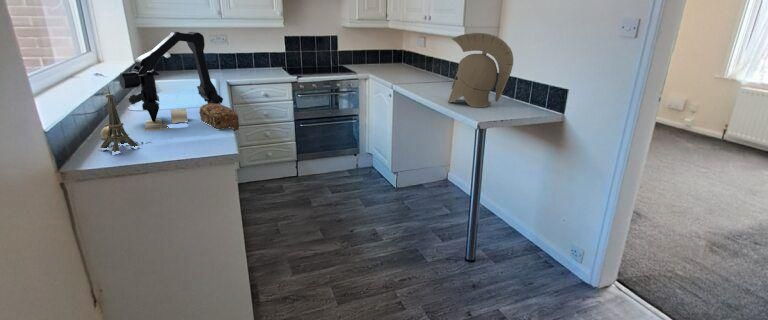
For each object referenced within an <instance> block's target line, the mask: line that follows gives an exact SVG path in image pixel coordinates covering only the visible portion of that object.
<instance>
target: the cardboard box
mask: <svg viewBox="0 0 768 320" xmlns="http://www.w3.org/2000/svg"><path fill="white" fill-rule="evenodd" d="M167 124H168V123H164V124H163V123H162V124H161V125H149V126H145V127H144V132H154V131H155V132H156V131H167V130H174V128H169V127H168V126H167ZM167 127H168V128H167Z"/></svg>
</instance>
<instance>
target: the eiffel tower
mask: <svg viewBox="0 0 768 320" xmlns="http://www.w3.org/2000/svg"><path fill="white" fill-rule="evenodd" d="M107 85H108V82H107ZM107 89H108V90H107V91H108V93H107V94H105V98H106V99H107V105H108V106H107V107H108V123H106V124H107V126H109V131H108V135H106V136H107V138H106V139H104V141H103V143H102V144H101V145H100V148H107V147H108V148H109V147H110V146H111V143H113V146H112V149H111V152H112V151H114V152H116V151H120V152H121V150H120V145H118V144H120V143H121V144H124V143H128V144H129V145H128V146H130V147H131V146H134V147H135V146H139V144H138V143H137V142H136V141H135V140H133V139H132V138H131V137H130V136H129V134H128V133H127V132H126V130H125V128H124V125H125V124H124V122H121V119H120V117H119V116H120V115H119V113H118V109H117V107H116V104H115V100H114V97H115V95H114V93H111V91H110V87H109V86H107ZM116 129H117V131H116ZM112 130H113V134H112ZM120 130H121V131H120ZM121 132H122V133H121ZM100 148H99V149H100Z"/></svg>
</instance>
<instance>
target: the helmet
mask: <svg viewBox="0 0 768 320" xmlns="http://www.w3.org/2000/svg"><path fill="white" fill-rule="evenodd" d="M451 40H452V41H453V42H455V43H457V45H458V46H459V47H460V49H461V51H462V52H463V53H465V52H472V51H473V52H481V53H470V54H468V55H467V56H466V55H465V57H463V58H461V59H460V61H459V64H458V69H457V72H456V74H455V76H454V80H453V83H452V85H451V92H450V95H449V98H448V99H447V102H448V103H454V102H455V101H457V100H459V99H460V98H462V97H463V99H464V101H465V102H466V104H467V105H469V106H471V107H474V108H486V107H490V106H491V105H492V102H490V101H489V98H490V97H489V96H490V93H491V91H492V90H494V88H495V97H494V101H495V102H496V103H498V101H499V100H500V98H501V97H502V94H503V93H504V90H505V87H506V86H507V83H508V81H509V78H510V76H511V73H512V70H513V66H514V55H513V52H512V49H511V47H510V46H509V45H508V44H507V42H505V41H504V40H503V39H501V38H500V37H498V36H496V35H494V34H490V33H486V32H471V33H464V34H461V35H457V36H454V37H452V38H451ZM489 55H490V56H492V57H493V58H494V59H495V60H494V59H493V58H492V57H490V56H489ZM495 61H496V62H495ZM496 64H497V65H496Z"/></svg>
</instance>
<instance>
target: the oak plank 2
mask: <svg viewBox="0 0 768 320" xmlns="http://www.w3.org/2000/svg"><path fill="white" fill-rule="evenodd" d="M187 114H188V112H187V108H178V109H170V115H171V116H170V117H171V124H175V123H176V122H184V123H186V122H185V121H188V122H189V119H188V118H189V117H188V115H187Z"/></svg>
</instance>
